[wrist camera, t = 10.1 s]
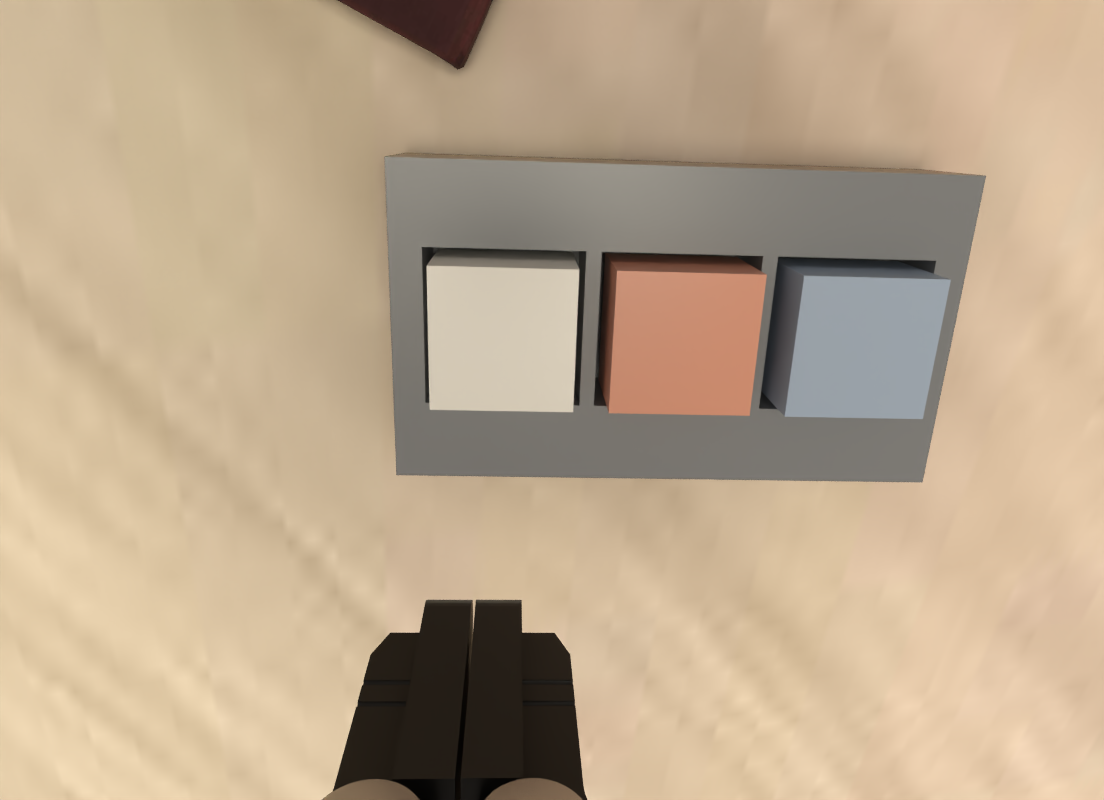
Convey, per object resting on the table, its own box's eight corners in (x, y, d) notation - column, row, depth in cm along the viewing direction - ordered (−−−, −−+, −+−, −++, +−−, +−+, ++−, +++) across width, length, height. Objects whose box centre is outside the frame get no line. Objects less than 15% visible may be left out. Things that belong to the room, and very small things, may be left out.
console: (412, 431, 38) (396, 475, 33) (403, 152, 33) (384, 156, 29) (873, 439, 39) (922, 482, 34) (922, 169, 34) (985, 175, 30)
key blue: (753, 382, 35) (784, 416, 31) (768, 257, 33) (804, 275, 29) (875, 384, 35) (922, 419, 31) (897, 261, 33) (950, 279, 29)
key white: (440, 376, 34) (429, 409, 30) (438, 248, 32) (426, 265, 28) (567, 378, 34) (573, 412, 30) (572, 252, 33) (579, 269, 28)
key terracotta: (598, 379, 34) (608, 413, 30) (605, 253, 33) (617, 271, 28) (722, 381, 35) (749, 415, 31) (736, 256, 33) (766, 274, 29)
